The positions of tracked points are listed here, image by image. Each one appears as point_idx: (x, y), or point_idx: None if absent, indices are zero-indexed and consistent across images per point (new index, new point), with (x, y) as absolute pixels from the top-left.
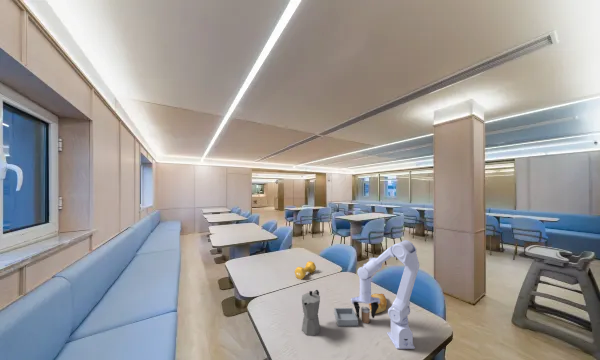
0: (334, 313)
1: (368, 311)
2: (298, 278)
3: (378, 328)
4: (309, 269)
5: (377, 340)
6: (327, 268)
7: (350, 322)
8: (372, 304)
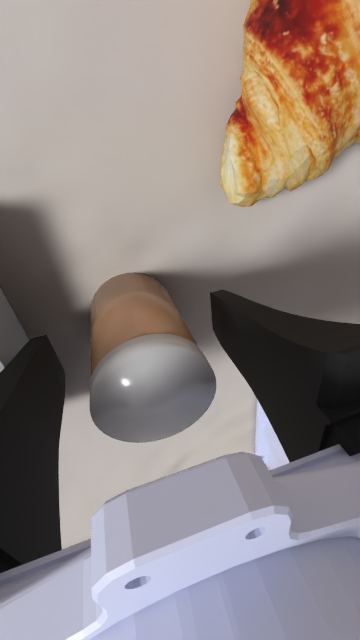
0: None
1: (189, 422)
2: None
3: (220, 367)
4: None
5: (181, 452)
6: None
7: None
8: (302, 424)
